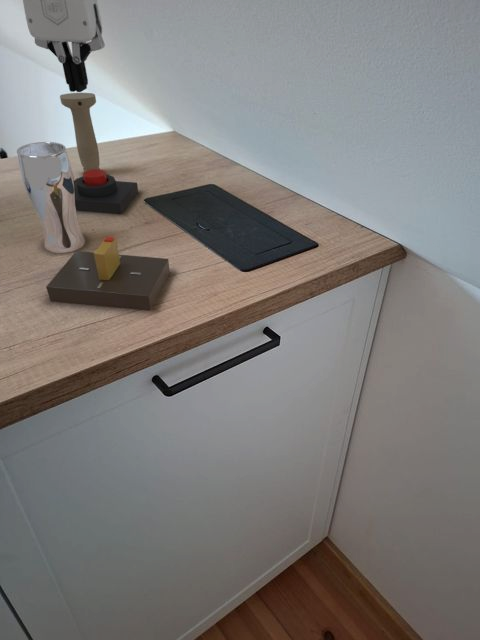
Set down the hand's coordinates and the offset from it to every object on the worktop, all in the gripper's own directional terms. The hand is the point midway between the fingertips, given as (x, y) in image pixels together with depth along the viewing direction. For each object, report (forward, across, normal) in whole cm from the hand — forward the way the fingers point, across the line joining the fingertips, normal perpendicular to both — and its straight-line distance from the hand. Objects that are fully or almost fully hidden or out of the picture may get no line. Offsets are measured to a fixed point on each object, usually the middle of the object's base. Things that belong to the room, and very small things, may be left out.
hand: (78, 89), depth 80 cm
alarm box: (+19, 0, 0) cm, 19 cm away
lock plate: (+19, +13, -28) cm, 36 cm away
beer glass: (+19, +1, -17) cm, 26 cm away
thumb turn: (+16, +13, -28) cm, 35 cm away
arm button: (+15, 0, 0) cm, 15 cm away
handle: (+19, -6, +13) cm, 24 cm away
